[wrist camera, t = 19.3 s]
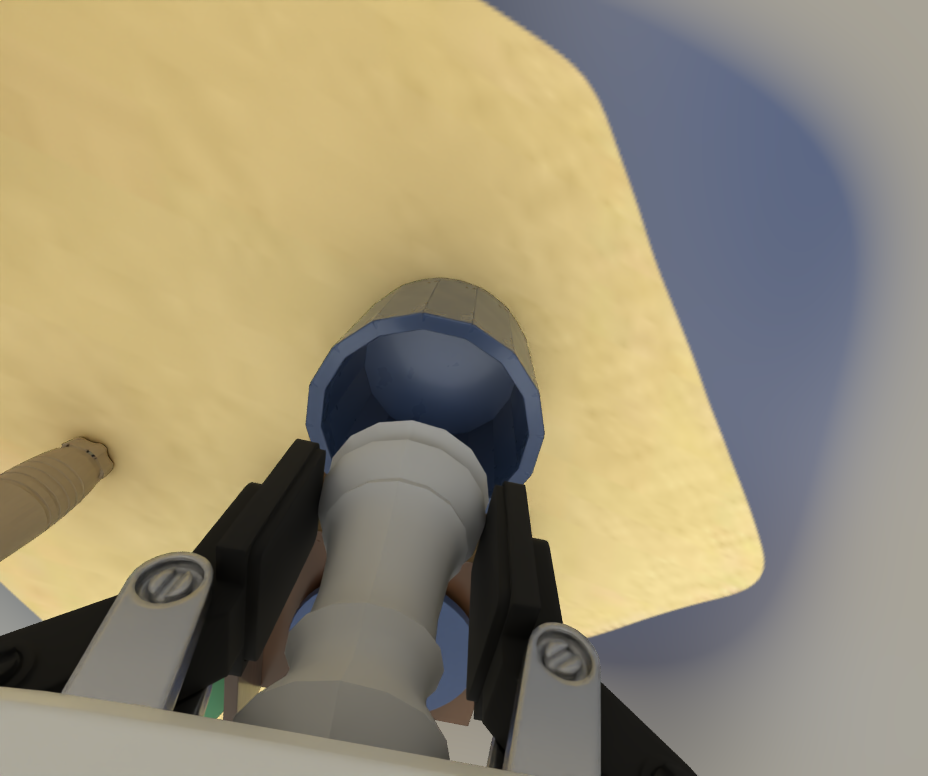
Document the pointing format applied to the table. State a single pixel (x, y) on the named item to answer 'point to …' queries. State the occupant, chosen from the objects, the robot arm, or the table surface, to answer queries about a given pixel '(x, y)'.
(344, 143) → the table surface
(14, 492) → the handle
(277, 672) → the shelf
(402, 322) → the pot
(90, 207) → the table surface
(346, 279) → the table surface
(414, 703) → the rook chess piece
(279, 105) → the table surface
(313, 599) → the lid
